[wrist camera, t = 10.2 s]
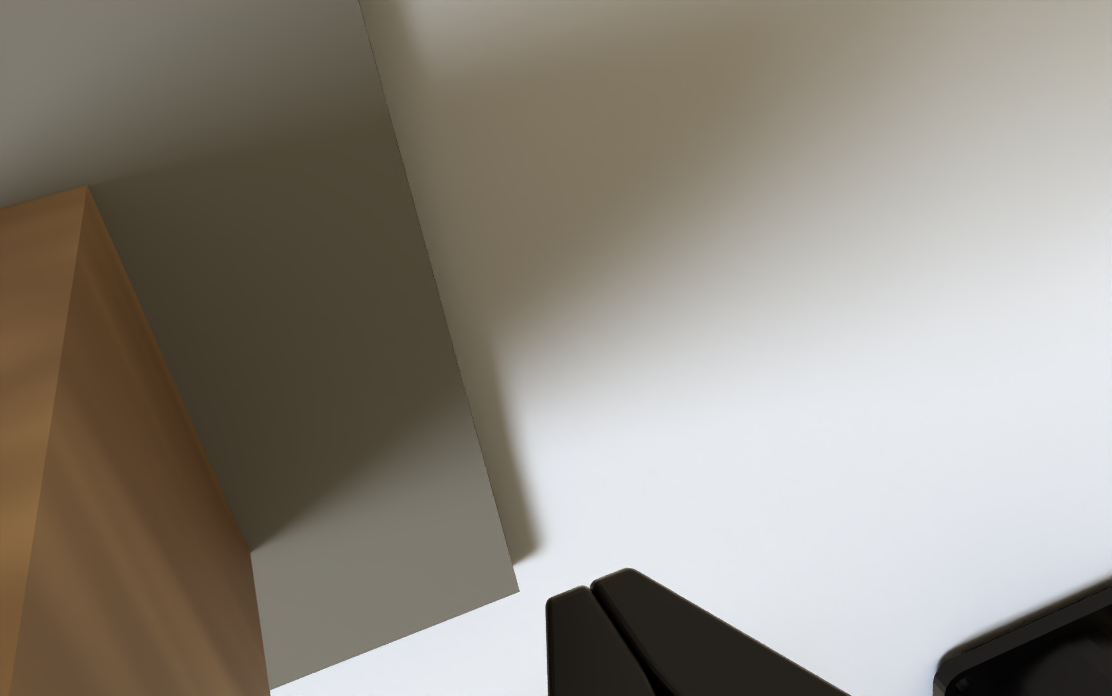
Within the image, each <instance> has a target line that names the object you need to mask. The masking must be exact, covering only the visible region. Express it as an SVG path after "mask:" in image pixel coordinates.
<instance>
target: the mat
mask: <svg viewBox="0 0 1112 696" xmlns="http://www.w3.org/2000/svg"><path fill="white" fill-rule="evenodd" d="M85 185H88V187H89V189H90V192H91V194H92V196H93V199H94V201H95V203H96V205H97V208H98V210H99V212H100V214H101V217H102V219H103V221H104V223H105V226H106V228H107V230H108V232H109V235H110V237H111V239H112V241H113V244H114V246H115V248H116V251H117V253H118V255H119V257H120V260H121V262H122V264H123V266H124V269H125V271H126V273H127V275H128V278H129V280H130V282H131V284H132V287H133V289H134V291H135V293H136V296H137V298H138V300H139V302H140V305H141V307H142V309H143V312H144V314H145V316H146V318H147V321H148V323H149V325H150V327H151V330H152V332H153V334H154V336H155V339H156V341H157V343H158V345H159V348H160V350H161V352H162V354H163V357H164V359H165V361H166V364H167V366H168V368H169V370H170V373H171V375H172V377H173V379H174V382H175V384H176V386H177V388H178V391H179V393H180V395H181V397H182V400H183V402H184V404H185V407H186V409H187V411H188V413H189V416H190V418H191V420H192V422H193V425H194V427H195V429H196V431H197V434H198V436H199V438H200V440H201V443H202V445H203V447H204V449H205V452H206V454H207V456H208V459H209V461H210V463H211V465H212V468H213V470H214V472H215V474H216V477H217V479H218V481H219V483H220V486H221V488H222V490H223V492H224V495H225V497H226V499H227V501H228V504H229V506H230V508H231V511H232V513H233V515H234V517H235V520H236V522H237V524H238V526H239V529H240V531H241V533H242V535H243V538H244V540H245V542H246V544H247V547H248V549H249V551H250V555H251V562H252V569H253V576H254V583H255V590H256V597H257V604H258V611H259V618H260V625H261V632H262V640H263V647H264V654H265V661H266V668H267V675H268V682H269V689H270V690H272V689H274V688H277V687H279V686H282V685H284V684H287V683H289V682H292V681H294V680H297V679H299V678H302V677H304V676H307V675H310V674H312V673H315V672H317V671H320V670H322V669H325V668H327V667H330V666H332V665H335V664H337V663H340V662H342V661H345V660H348V659H350V658H353V657H355V656H358V655H360V654H363V653H365V652H368V651H370V650H373V649H375V648H378V647H380V646H383V645H386V644H388V643H391V642H393V641H396V640H398V639H401V638H403V637H406V636H408V635H411V634H413V633H416V632H418V631H421V630H424V629H426V628H429V627H431V626H434V625H436V624H439V623H441V622H444V621H446V620H449V619H451V618H454V617H456V616H459V615H462V614H464V613H467V612H469V611H472V610H474V609H477V608H479V607H482V606H484V605H487V604H489V603H492V602H495V601H497V600H500V599H502V598H505V597H507V596H510V595H512V594H515V593H517V592H520V591H519V587H518V584H517V580H516V576H515V573H514V569H513V565H512V562H511V558H510V554H509V551H508V547H507V543H506V540H505V536H504V532H503V529H502V525H501V521H500V518H499V514H498V510H497V507H496V503H495V499H494V496H493V492H492V488H491V485H490V481H489V477H488V474H487V470H486V466H485V463H484V459H483V455H482V452H481V448H480V444H479V441H478V437H477V433H476V430H475V426H474V422H473V419H472V415H471V411H470V408H469V404H468V400H467V397H466V393H465V389H464V386H463V382H462V378H461V375H460V371H459V367H458V364H457V360H456V356H455V353H454V349H453V345H452V342H451V338H450V334H449V331H448V327H447V324H446V320H445V316H444V313H443V309H442V305H441V302H440V298H439V294H438V291H437V287H436V283H435V280H434V276H433V272H432V269H431V265H430V261H429V258H428V254H427V250H426V247H425V243H424V239H423V236H422V232H421V228H420V225H419V221H418V217H417V214H416V210H415V206H414V203H413V199H412V195H411V192H410V188H409V184H408V181H407V177H406V173H405V170H404V166H403V162H402V159H401V155H400V151H399V148H398V144H397V140H396V137H395V133H394V129H393V126H392V122H391V118H390V115H389V111H388V107H387V104H386V100H385V96H384V93H383V89H382V85H381V82H380V78H379V74H378V71H377V67H376V63H375V60H374V56H373V52H372V49H371V45H370V41H369V38H368V34H367V30H366V27H365V23H364V19H363V16H362V12H361V8H360V5H359V1H358V0H0V209H2V208H6V207H10V206H13V205H17V204H20V203H24V202H28V201H31V200H35V199H38V198H42V197H46V196H49V195H53V194H56V193H60V192H64V191H67V190H71V189H74V188H78V187H82V186H85Z"/></svg>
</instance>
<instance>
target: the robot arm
mask: <svg viewBox="0 0 1112 696" xmlns="http://www.w3.org/2000/svg"><path fill="white" fill-rule="evenodd" d="M546 643H547V676H548V696H851V695H849V694H847V693H846V692H844V691H842V690H841V689H839V688H837V687H836V686H834V685H832V684H830V683H829V682H827V681H825V680H824V679H822V678H820V677H818V676H817V675H815V674H813V673H812V672H810V671H808V670H806V669H805V668H803V667H801V666H800V665H798V664H796V663H794V662H793V661H791V660H789V659H788V658H786V657H784V656H782V655H781V654H779V653H777V652H776V651H774V650H772V649H770V648H769V647H767V646H765V645H764V644H762V643H760V642H759V641H757V640H755V639H753V638H752V637H750V636H748V635H747V634H745V633H743V632H741V631H740V630H738V629H736V628H735V627H733V626H731V625H729V624H728V623H726V622H724V621H723V620H721V619H719V618H717V617H716V616H714V615H712V614H711V613H709V612H707V611H705V610H704V609H702V608H700V607H699V606H697V605H695V604H693V603H692V602H690V601H688V600H687V599H685V598H683V597H681V596H680V595H678V594H676V593H675V592H673V591H671V590H670V589H668V588H666V587H664V586H663V585H661V584H659V583H658V582H656V581H654V580H652V579H651V578H649V577H647V576H646V575H644V574H642V573H640V572H639V571H637V570H635V569H632V568H624V569H621V570H619V571H616V572H614V573H611V574H609V575H606V576H604V577H601V578H599V579H596V580H594V581H593V582H592V584H591V585H590V589H589V588H588V587H587V586H583V585H582V586H578V587H576V588H573V589H571V590H568V591H566V592H563V593H561V594H558V595H556V596H553V597H551V598H549V599H548V600H547V602H546ZM933 696H1112V587H1110V588H1108V589H1106V590H1104V591H1101V592H1099V593H1097V594H1095V595H1092V596H1090V597H1088V598H1086V599H1084V600H1081V601H1079V602H1077V603H1075V604H1072V605H1070V606H1068V607H1066V608H1064V609H1061V610H1059V611H1057V612H1055V613H1052V614H1050V615H1048V616H1046V617H1044V618H1041V619H1039V620H1037V621H1035V622H1032V623H1030V624H1028V625H1026V626H1024V627H1021V628H1019V629H1017V630H1015V631H1012V632H1010V633H1008V634H1006V635H1004V636H1001V637H999V638H997V639H995V640H993V641H990V642H988V643H986V644H984V645H981V646H979V647H977V648H975V649H973V650H970V651H968V652H966V653H964V654H961V655H959V656H957V657H955V658H953V659H951V660H949V661H947V662H946V663H944V664H943V665H942V666H941V667H940V668H939V669H938V671H937V673H936V674H935V676H934V680H933Z"/></svg>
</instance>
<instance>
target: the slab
mask: <svg viewBox="0 0 1112 696" xmlns="http://www.w3.org/2000/svg"><path fill="white" fill-rule="evenodd" d="M0 696H270V689H269V682H268V675H267V668H266V661H265V654H264V647H263V640H262V632H261V625H260V618H259V611H258V604H257V597H256V590H255V583H254V576H253V569H252V562H251V555H250V551H249V549H248V547H247V544H246V542H245V540H244V538H243V535H242V533H241V531H240V529H239V526H238V524H237V522H236V520H235V517H234V515H233V513H232V511H231V508H230V506H229V504H228V501H227V499H226V497H225V495H224V492H223V490H222V488H221V486H220V483H219V481H218V479H217V477H216V474H215V472H214V470H213V468H212V465H211V463H210V461H209V459H208V456H207V454H206V452H205V449H204V447H203V445H202V443H201V440H200V438H199V436H198V434H197V431H196V429H195V427H194V425H193V422H192V420H191V418H190V416H189V413H188V411H187V409H186V407H185V404H184V402H183V400H182V397H181V395H180V393H179V391H178V388H177V386H176V384H175V382H174V379H173V377H172V375H171V373H170V370H169V368H168V366H167V364H166V361H165V359H164V357H163V354H162V352H161V350H160V348H159V345H158V343H157V341H156V339H155V336H154V334H153V332H152V330H151V327H150V325H149V323H148V321H147V318H146V316H145V314H144V312H143V309H142V307H141V305H140V302H139V300H138V298H137V296H136V293H135V291H134V289H133V287H132V284H131V282H130V280H129V278H128V275H127V273H126V271H125V269H124V266H123V264H122V262H121V260H120V257H119V255H118V253H117V251H116V248H115V246H114V244H113V241H112V239H111V237H110V235H109V232H108V230H107V228H106V226H105V223H104V221H103V219H102V217H101V214H100V212H99V210H98V208H97V205H96V203H95V201H94V199H93V196H92V194H91V192H90V189H89V187H88V185H85V186H82V187H78V188H74V189H71V190H67V191H64V192H60V193H56V194H53V195H49V196H46V197H42V198H38V199H35V200H31V201H28V202H24V203H20V204H17V205H13V206H10V207H6V208H2V209H0Z"/></svg>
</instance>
